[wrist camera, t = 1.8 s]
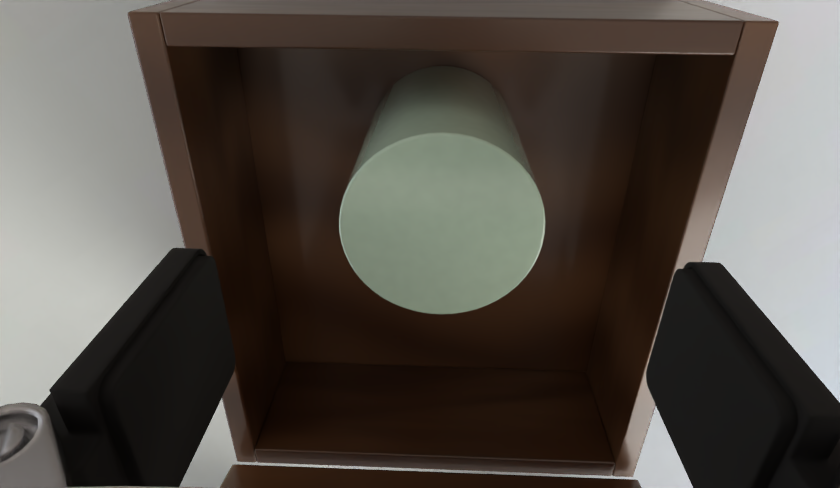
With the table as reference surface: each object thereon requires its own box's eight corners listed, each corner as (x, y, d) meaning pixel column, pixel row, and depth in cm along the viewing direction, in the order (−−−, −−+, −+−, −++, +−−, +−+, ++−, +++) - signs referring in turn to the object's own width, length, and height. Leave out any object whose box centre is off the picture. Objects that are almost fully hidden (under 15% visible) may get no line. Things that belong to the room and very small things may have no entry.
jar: (342, 113, 19) (296, 197, 13) (471, 35, 18) (487, 91, 12) (416, 224, 21) (406, 341, 15) (537, 164, 20) (578, 266, 14)
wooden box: (213, -12, 18) (125, 11, 13) (685, -6, 18) (780, 21, 13) (275, 361, 27) (236, 462, 22) (596, 371, 26) (632, 477, 21)
